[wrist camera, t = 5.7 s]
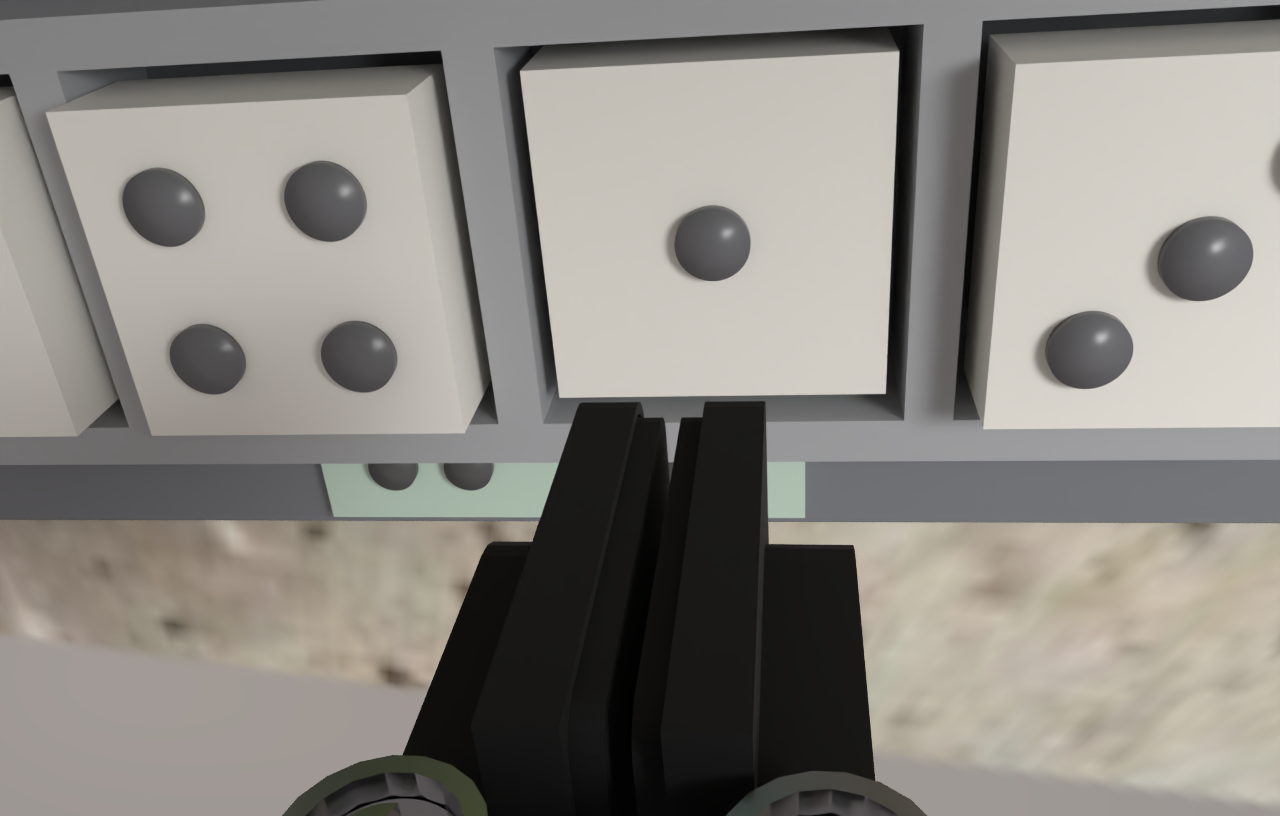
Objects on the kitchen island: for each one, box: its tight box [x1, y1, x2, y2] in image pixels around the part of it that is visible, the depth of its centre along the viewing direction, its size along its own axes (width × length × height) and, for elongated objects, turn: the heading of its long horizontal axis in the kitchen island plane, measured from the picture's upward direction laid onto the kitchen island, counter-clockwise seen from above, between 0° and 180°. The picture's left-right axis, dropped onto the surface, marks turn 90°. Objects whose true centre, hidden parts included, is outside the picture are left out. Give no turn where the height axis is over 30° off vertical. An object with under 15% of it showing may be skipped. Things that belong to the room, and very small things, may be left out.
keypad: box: [0, 0, 1280, 523], centre depth 20 cm, size 30×14×4 cm, turn 94°
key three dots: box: [964, 19, 1280, 429], centre depth 16 cm, size 6×6×2 cm
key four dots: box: [45, 64, 492, 436], centre depth 18 cm, size 6×6×2 cm
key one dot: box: [520, 26, 899, 398], centre depth 18 cm, size 6×6×2 cm
